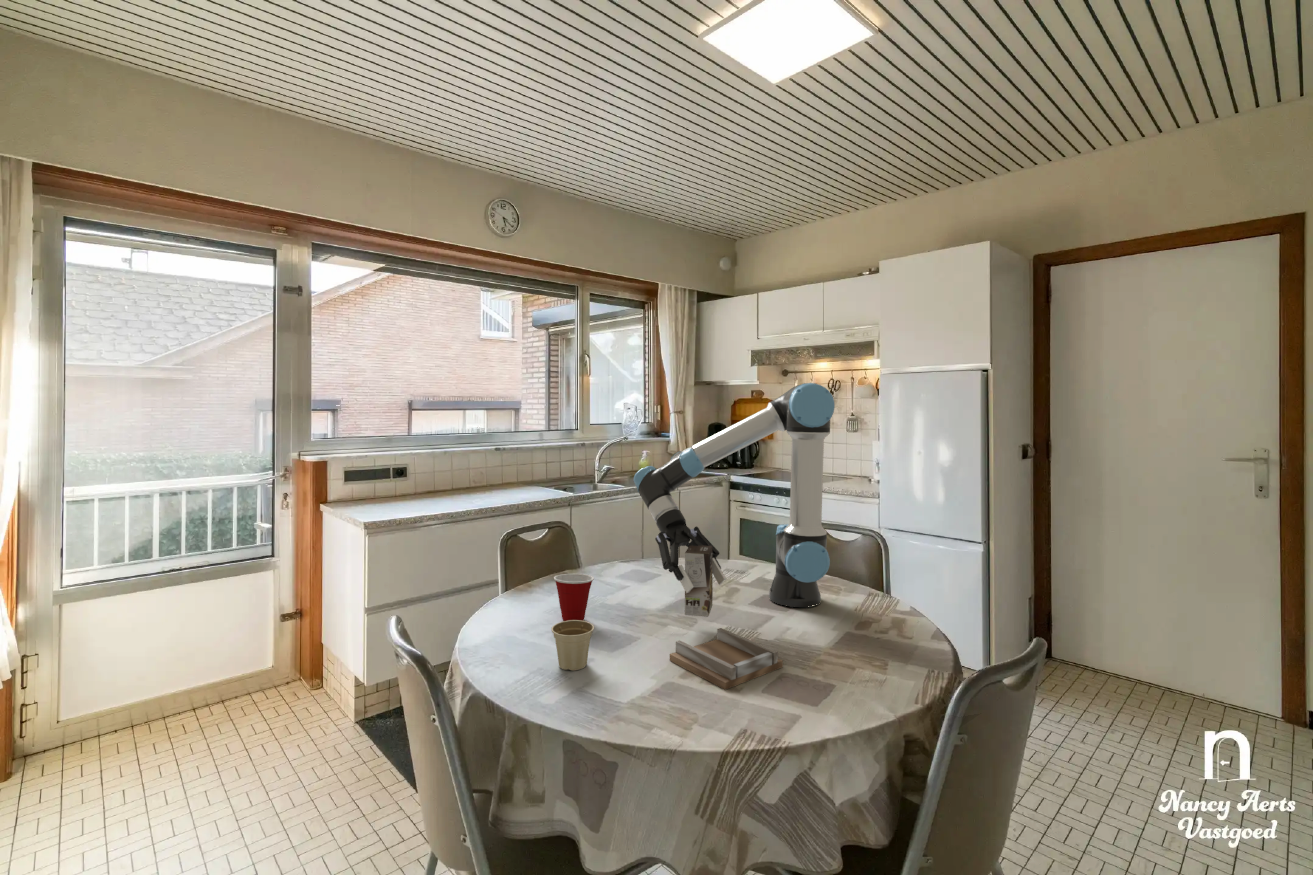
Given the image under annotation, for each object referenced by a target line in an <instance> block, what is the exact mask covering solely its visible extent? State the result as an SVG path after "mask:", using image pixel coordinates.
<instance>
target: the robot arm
mask: <svg viewBox="0 0 1313 875" xmlns="http://www.w3.org/2000/svg"><path fill="white" fill-rule="evenodd" d="M835 405H836V404H835V399H834V396H833V394H832V393H831V392H830V391H829V389H827V388H826V387H825V386H823V385H821V384H818V383H816V382H806V383H805V382H804V383H802V384H798V385H795V386H793V387H791V388H790V389H789V390H786V392H784V393H782V394H781V395H780V396H778V397H776V398H775V399H773V400H771V401H769V402H768V404H767V406H766V407H765V408H762V409H761V410H759V411H757V412H756V413H753V414H751V415H749V416H747V417H745V418H744V419H742V420H739V421H738V422H736V423H733V424H731V425H730V426H727V427H726V428H724V429H722V430H721V431H718V432H717V433H714V434H713V435H712V434H711V436H708V437H707V438H704V439H702V440H701V441H699V442H697V443H695V444H692V445H691V446H689V447H687V448H685V449H683V450H681V451H680V450H679V451H677V452H676V453H674V454H673V455H671V457H670V460H669V461H668V462H666V463H665V464H663V465H662V466H660V467H659V468H656V467H655V466H653V465H648V466H647V465H646V466H645V467H642V468H641V469H639V470H638V471H637V472H635V474H634V476H633V482H634V485H635V487H636V489H637V493H638V494H639V496H640V497H641V499H642V501H643V503H644V505H645V506H646V508H647V511H649V513H650V515H651V517H652V519H653V521H654V522H655V523H656V526H657V528H658V530H659V533H658V535H656V536H655V541H656V543H657V546H658V549H659V554H660V559H661V563H662V568H663V569H664V570H666V571H667V570H668V572H669V573H673V575H674V576H675V578H676V580H677V581H678V582H680V584H681V586H682V587H683V589H684V592H685V591H686V593H689V592H690V591H691V589H692V588H693V587H694V586H693V584H692V583H691V581H690V579H689V577H688V575H687V574H686V572H685V567H684V566H683V565H682V564H679V554H680V553H679V552H680V550H679V548H680V547H687V548H688V547H689V546H713V557H712V562H713V578H715V580H716V582H717V584H718V585H719V586H720V585H722V584H723V583H724V582H725V581H726V580H727V578H726V575H725V574H724V572H723V570H722V566H721V565H720V563H719V561H718V559H717V558H718V556H719V555H721V554H720V551H719V550H718V549H717V548H716V547H715V545H713V544H712V543H711V541H710V540H709V539H708V538H707V537H706V536H705V535H704V534H703V533H702V532H701V530H700V527H698V526H694V528H690V527H688V525H687V520H686V518H685V516H684V514H683V513H682V510H680V508H679V506H678V504H677V503H676V500H675V499H674V498H673V496H672V494H671V493H672V492H673V491H676V489H678V488H679V487H681V486H682V485H684V484H686V483H687V482H688V481H690V480H692V479H694V478H696V477H697V476H698V475H699V474H702V472H703V471H704V470H705V468H706V467H708V466H710V465H713V464H714V463H716V462H718V461H720V460H722V459H725V458H726V457H728V456H730V455H732V454H733V453H736V452H738V451H740V450H742V449H744V448H746V447H748V446H750V445H752V444H754V443H755V442H758V441H760V440H762V439H764V438H766V437H768V436H770V435H771V434H774V433H776V432H778V431H781V432H785V431H786V434H787V435H789V437H791V460H790V461H791V462H790V464H791V466H790V495H789V496H790V498H789V499H790V502H789V523H786V524H785V523H784V524H779V525H777V527H776V533H775V537H776V544H775V545H776V546H775V547H776V548H775V549H776V550H775V574H774V577H773V580H772V583H771V586H770V589H769V592H768V593H769V595H768V596H769V597H768V598H770V599H769V600H770V601H771V600H772V601H773V602H772V601H771V602H772V603H774V602H775V603H774V604H776V603H777V604H776V605H778V604H781V605H780V606H782V605H787V606H791V607H790V608H793V607H808V606H812V605H816V604H819V603H820V604H821V602H820V601H821V600H822V598H821V597H822V594H821V593H820V592H821V591H820V589H819V585H818V581H819V580H821V579H822V578H824V576H825V575H826V574H827V573H828V571H829V568H830V565H831V564H830V563H831V560H830V554H829V552H828V550H827V546H828V545H827V538H828V533H827V532H828V531H827V530H826V529H825V528H824V527H823V526H822V518H823V517H822V515H823V513H822V511H823V488H824V487H823V481H824V480H823V478H824V453H825V452H824V450H825V449H824V447H825V446H824V445H825V439H826V437H828V436H829V435H830V433H831V418H833V415H834V412H835V408H836V407H835ZM668 542H669V546H668ZM820 604H819V605H820Z"/></svg>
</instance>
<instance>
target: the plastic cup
mask: <svg viewBox="0 0 1313 875" xmlns="http://www.w3.org/2000/svg"><path fill="white" fill-rule="evenodd" d="M594 579H595V577H594V576H592V575H589V574H585V573H564V574H558V575H554V576H553V580H554V582H555V585H556V590H557V596H558V602H559V603H558V604H559V609H560V612H561V619H562V622H563V621H569V620H581V621H585V616H586V610H587V608H588V607H587V606H588V602H589V596H590V591H591V590H590V589H591V588H592V583H593V581H594Z"/></svg>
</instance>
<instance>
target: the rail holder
mask: <svg viewBox="0 0 1313 875" xmlns="http://www.w3.org/2000/svg"><path fill="white" fill-rule="evenodd" d="M716 632H717V633H716V639H713V640H710V641H707V642H704V643H700V644H698V645H695V646H693V645H691V644H688V643H686V642H684V641H682V640H680V639H679V640H676V641H675V652H672V653H670V654H669V661H670V662H672V663H673V664H675V665H677V666H679V667H681V668H683V669H685V670H687V671H689V672H690V673H692V674H695V675H696V676H698V677H700V678H702V679H703V680H706V681H708V682H709V683H711V684H714V685H716V686H717V687H719V688H721V689H723V690H729V689H730V688H731V689H732V688H733V687H736V686H739V685H741V684H743V683H747V682H748V681H752V680H754V679H756V678H759V677H761V676H764V675H766V674H769V673H772V672H774V671H777V670H780V669H783V667H784V662H783V659H779V658H778V655H779V654H778V651H777V650H775V649H772V648H770V647H767V646H764V645H763V644H760V643H757V642H756V641H753V640H751V639H748V638H746V637H743V636H741V635H740V634H736V633H734V632H732V631H729V630H727V629H724V628H723V627H718V628H717V629H716Z"/></svg>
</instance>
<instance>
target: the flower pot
mask: <svg viewBox="0 0 1313 875" xmlns="http://www.w3.org/2000/svg"><path fill="white" fill-rule="evenodd" d="M594 629H595V625H594V624H593V623H591V622H588V621H587V620H583V621H581V620H569V621H563V620H562V621H559V622H557V623H555V624H554V625H552V627H551V633H552V635H553V638H554V640H555V646H556V654H557V660H558V667H559V668H560V669H562V670H565V671H568V670H570V671H579V670H582V669H584V668H586V665H588V658H589V651H590V650H589V649H590V641H591V637H592V635H593V631H594Z"/></svg>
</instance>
